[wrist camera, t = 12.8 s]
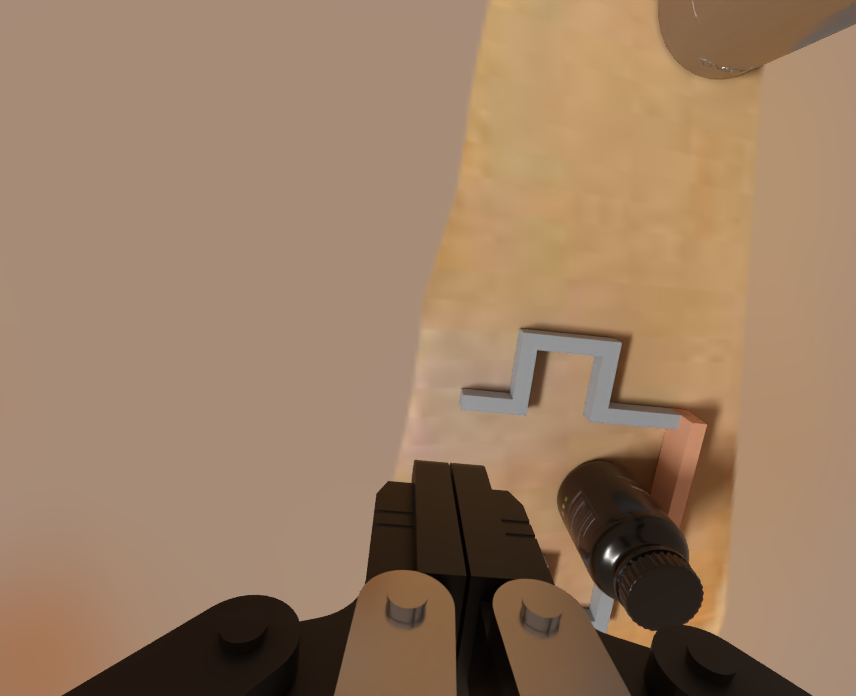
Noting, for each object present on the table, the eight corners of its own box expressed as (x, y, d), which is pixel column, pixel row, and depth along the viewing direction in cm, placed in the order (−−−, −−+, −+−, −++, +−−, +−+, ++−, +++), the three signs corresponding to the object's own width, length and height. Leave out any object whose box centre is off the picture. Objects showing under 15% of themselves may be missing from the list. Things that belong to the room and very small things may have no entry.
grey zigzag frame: (470, 323, 37) (475, 331, 34) (701, 347, 38) (725, 357, 36) (431, 609, 44) (433, 637, 41) (631, 622, 45) (647, 650, 42)
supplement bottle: (642, 460, 41) (735, 555, 29) (626, 532, 42) (709, 650, 31) (560, 454, 40) (622, 548, 29) (548, 527, 42) (601, 644, 30)
